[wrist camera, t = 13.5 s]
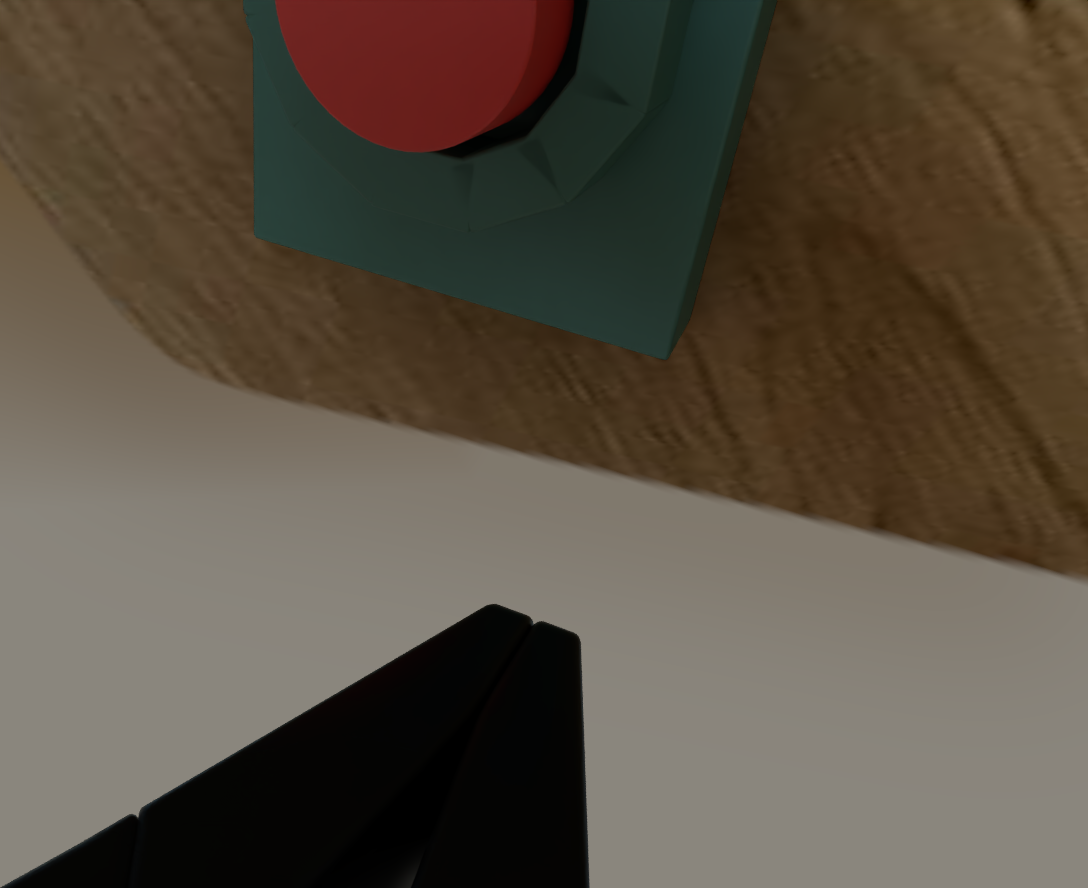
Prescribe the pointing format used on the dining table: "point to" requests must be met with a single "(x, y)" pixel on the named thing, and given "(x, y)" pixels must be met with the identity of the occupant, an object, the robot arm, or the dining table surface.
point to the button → (425, 63)
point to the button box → (534, 174)
